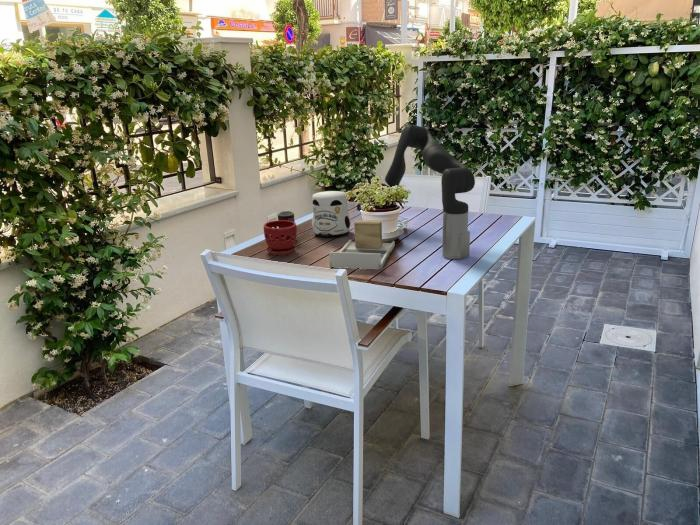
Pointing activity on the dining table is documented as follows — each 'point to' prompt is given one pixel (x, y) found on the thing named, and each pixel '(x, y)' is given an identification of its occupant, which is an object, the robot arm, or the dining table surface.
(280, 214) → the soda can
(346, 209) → the milk container
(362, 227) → the oak block
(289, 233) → the plant pot
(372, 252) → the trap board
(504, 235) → the dining table surface
